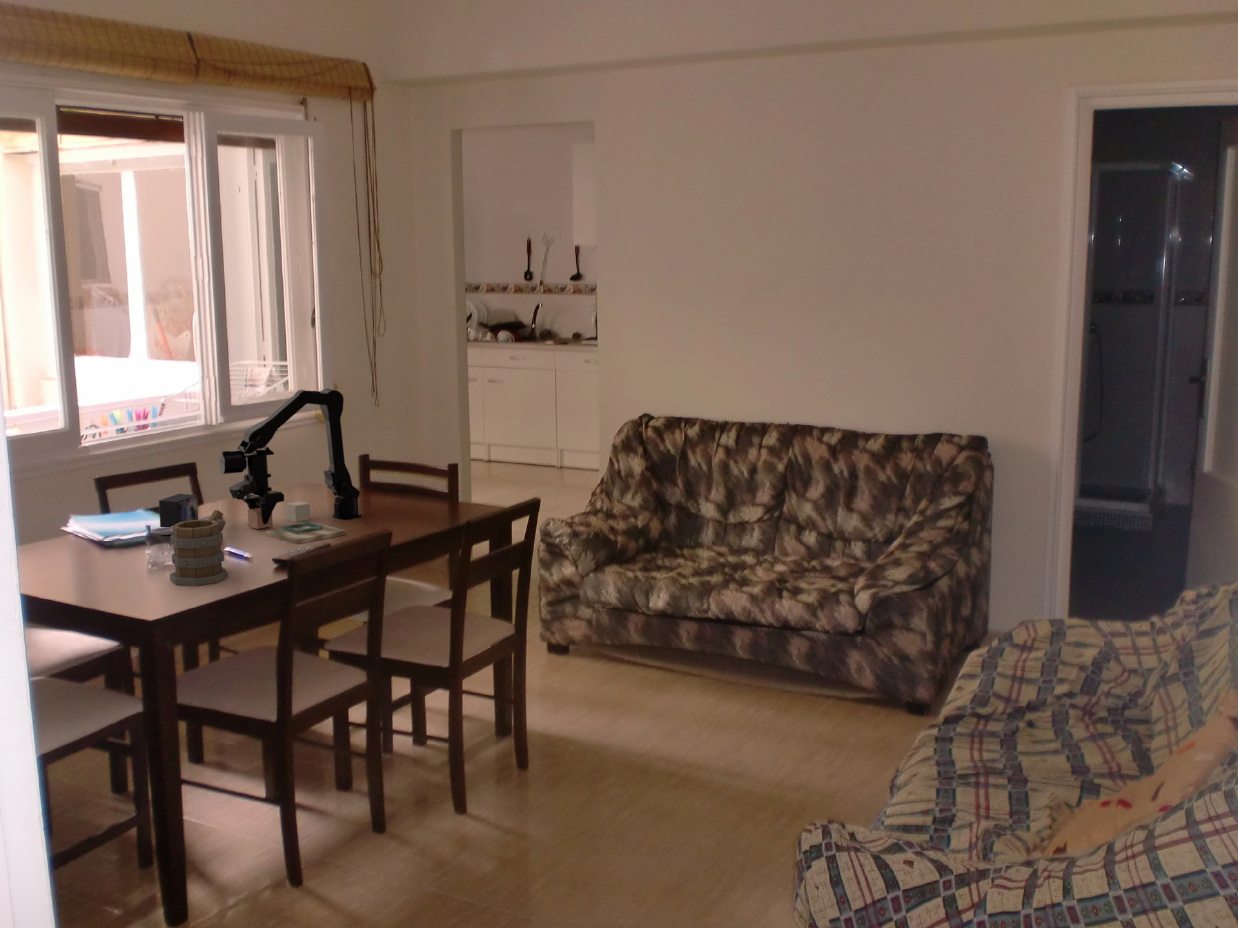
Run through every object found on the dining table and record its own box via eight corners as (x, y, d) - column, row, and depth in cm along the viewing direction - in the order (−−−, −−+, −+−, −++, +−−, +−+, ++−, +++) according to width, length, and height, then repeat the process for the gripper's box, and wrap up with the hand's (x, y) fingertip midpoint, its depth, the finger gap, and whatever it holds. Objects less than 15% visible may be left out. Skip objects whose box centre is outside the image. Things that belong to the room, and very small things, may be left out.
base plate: (314, 526, 343) (314, 518, 343) (345, 534, 333) (345, 527, 332) (266, 535, 332) (266, 527, 332) (296, 544, 321) (296, 536, 321)
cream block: (301, 517, 356) (300, 501, 356) (310, 519, 353) (309, 503, 352) (287, 519, 353) (286, 503, 352) (296, 522, 349) (295, 505, 349)
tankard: (210, 587, 279) (206, 526, 276) (161, 584, 281) (157, 524, 278) (249, 566, 298) (246, 509, 295) (203, 564, 300) (200, 507, 297)
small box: (180, 537, 330) (177, 501, 328) (159, 536, 331) (157, 500, 330) (200, 528, 340) (198, 494, 338) (180, 527, 342) (178, 493, 340)
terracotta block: (263, 523, 345) (262, 507, 344) (272, 526, 342) (271, 509, 341) (248, 526, 341) (247, 509, 340) (257, 528, 338) (256, 512, 337)
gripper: (216, 470, 339) (219, 522, 342) (249, 478, 326) (252, 532, 329) (250, 465, 347) (253, 516, 350) (284, 473, 335) (286, 525, 337)
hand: (260, 522), depth 341 cm, fingers closed on terracotta block, 5 cm apart
